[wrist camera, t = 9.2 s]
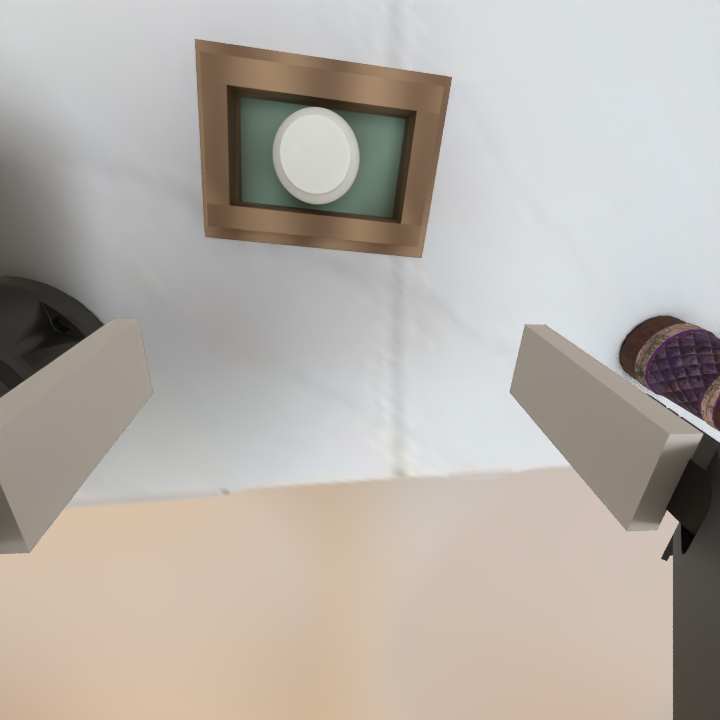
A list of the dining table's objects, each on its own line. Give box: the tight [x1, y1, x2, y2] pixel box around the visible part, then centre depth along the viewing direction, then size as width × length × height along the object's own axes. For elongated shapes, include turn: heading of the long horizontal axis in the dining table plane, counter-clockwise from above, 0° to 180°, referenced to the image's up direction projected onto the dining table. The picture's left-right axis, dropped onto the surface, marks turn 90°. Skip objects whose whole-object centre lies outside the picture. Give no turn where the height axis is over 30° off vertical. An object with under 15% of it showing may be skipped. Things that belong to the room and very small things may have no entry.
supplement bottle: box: [273, 107, 360, 204], centre depth 26 cm, size 5×5×10 cm
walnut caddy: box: [195, 39, 452, 258], centre depth 29 cm, size 18×13×6 cm
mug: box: [621, 316, 720, 431], centre depth 36 cm, size 10×7×12 cm
